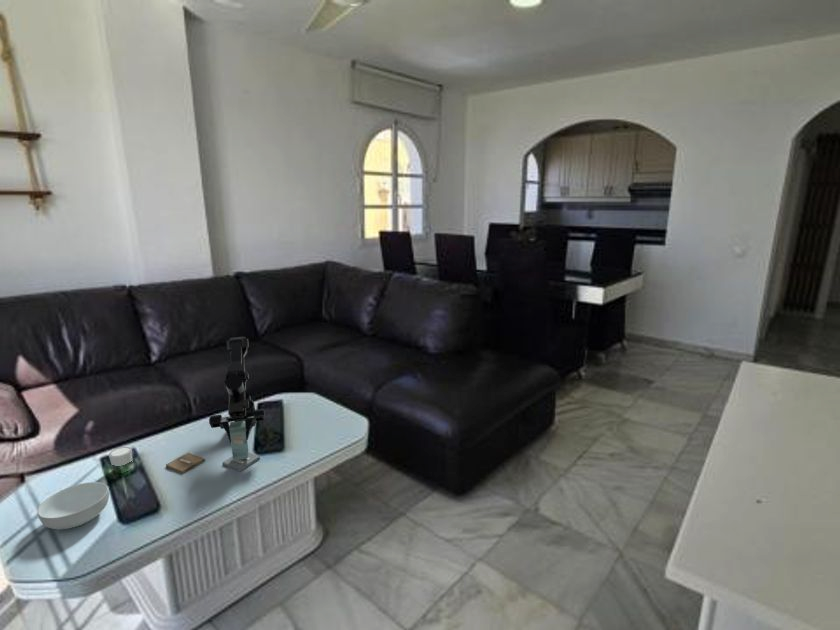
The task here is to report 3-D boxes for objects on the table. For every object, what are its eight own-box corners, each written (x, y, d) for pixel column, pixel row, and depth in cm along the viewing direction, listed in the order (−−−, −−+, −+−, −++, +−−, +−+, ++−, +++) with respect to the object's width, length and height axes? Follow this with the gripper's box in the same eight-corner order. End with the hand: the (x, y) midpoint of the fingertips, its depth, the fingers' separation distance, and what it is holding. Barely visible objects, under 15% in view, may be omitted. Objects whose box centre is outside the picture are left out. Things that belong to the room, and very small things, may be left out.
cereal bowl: (101, 494, 149) (97, 475, 147) (120, 515, 139) (116, 495, 137) (35, 521, 136) (30, 501, 134) (51, 548, 126) (45, 526, 124)
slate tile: (242, 452, 173) (241, 449, 172) (259, 458, 169) (259, 455, 168) (222, 464, 165) (222, 461, 164) (240, 471, 161) (240, 468, 161)
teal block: (233, 453, 168) (230, 422, 164) (248, 450, 169) (245, 420, 166) (233, 460, 163) (229, 429, 160) (248, 458, 164) (244, 427, 161)
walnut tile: (188, 454, 171) (188, 452, 171) (205, 460, 167) (204, 457, 167) (166, 467, 163) (165, 464, 163) (183, 473, 160) (182, 470, 159)
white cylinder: (139, 464, 165) (136, 446, 164) (125, 475, 159) (122, 457, 157) (121, 463, 166) (118, 445, 164) (107, 474, 159) (103, 456, 158)
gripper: (206, 395, 161) (206, 439, 154) (262, 388, 167) (265, 430, 159) (211, 406, 170) (211, 448, 163) (264, 399, 176) (266, 439, 169)
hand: (238, 441), depth 163 cm, fingers closed on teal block, 5 cm apart
